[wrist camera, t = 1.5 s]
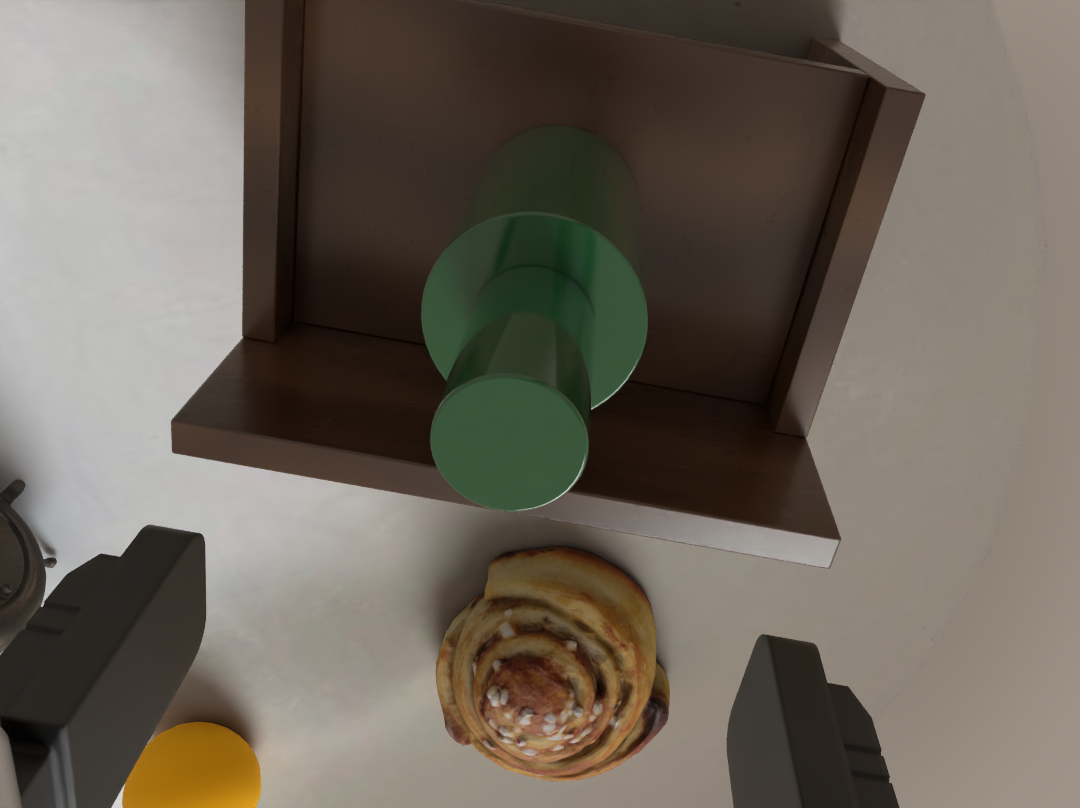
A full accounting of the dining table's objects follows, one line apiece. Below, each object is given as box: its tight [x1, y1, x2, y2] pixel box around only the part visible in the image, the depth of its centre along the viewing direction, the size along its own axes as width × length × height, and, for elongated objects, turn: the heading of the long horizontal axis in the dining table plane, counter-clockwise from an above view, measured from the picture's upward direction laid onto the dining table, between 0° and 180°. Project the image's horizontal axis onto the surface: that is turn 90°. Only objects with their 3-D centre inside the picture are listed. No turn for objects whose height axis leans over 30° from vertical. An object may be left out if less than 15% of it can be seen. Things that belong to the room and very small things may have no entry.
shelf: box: [171, 0, 925, 569], centre depth 33 cm, size 13×20×18 cm, turn 81°
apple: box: [122, 722, 261, 808], centre depth 57 cm, size 8×8×8 cm
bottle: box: [421, 125, 648, 511], centre depth 25 cm, size 6×6×16 cm
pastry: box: [436, 547, 670, 781], centre depth 51 cm, size 13×15×8 cm
